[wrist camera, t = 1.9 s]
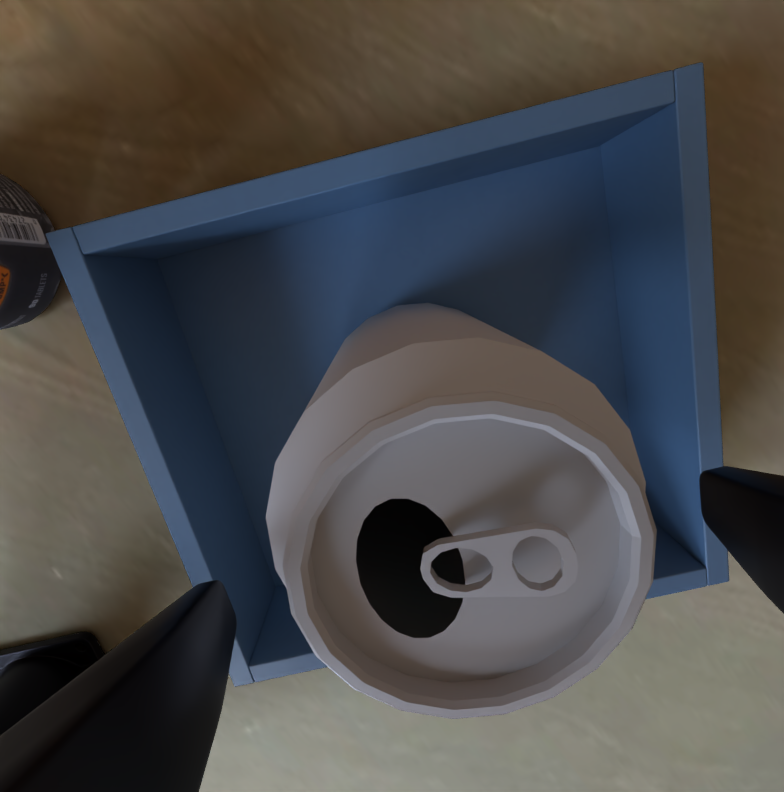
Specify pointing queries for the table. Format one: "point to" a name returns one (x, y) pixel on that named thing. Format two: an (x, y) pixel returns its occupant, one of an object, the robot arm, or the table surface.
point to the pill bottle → (24, 257)
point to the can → (459, 518)
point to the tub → (412, 284)
